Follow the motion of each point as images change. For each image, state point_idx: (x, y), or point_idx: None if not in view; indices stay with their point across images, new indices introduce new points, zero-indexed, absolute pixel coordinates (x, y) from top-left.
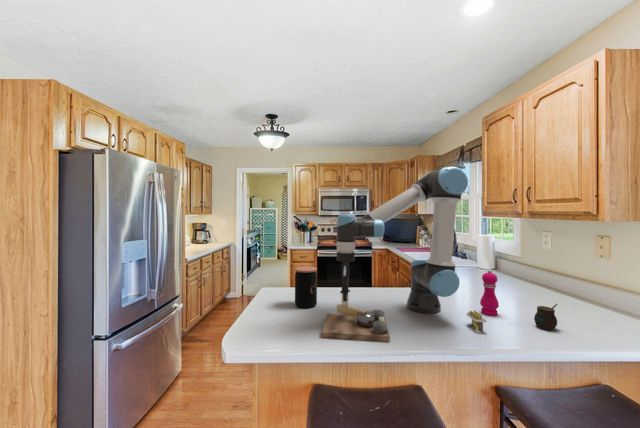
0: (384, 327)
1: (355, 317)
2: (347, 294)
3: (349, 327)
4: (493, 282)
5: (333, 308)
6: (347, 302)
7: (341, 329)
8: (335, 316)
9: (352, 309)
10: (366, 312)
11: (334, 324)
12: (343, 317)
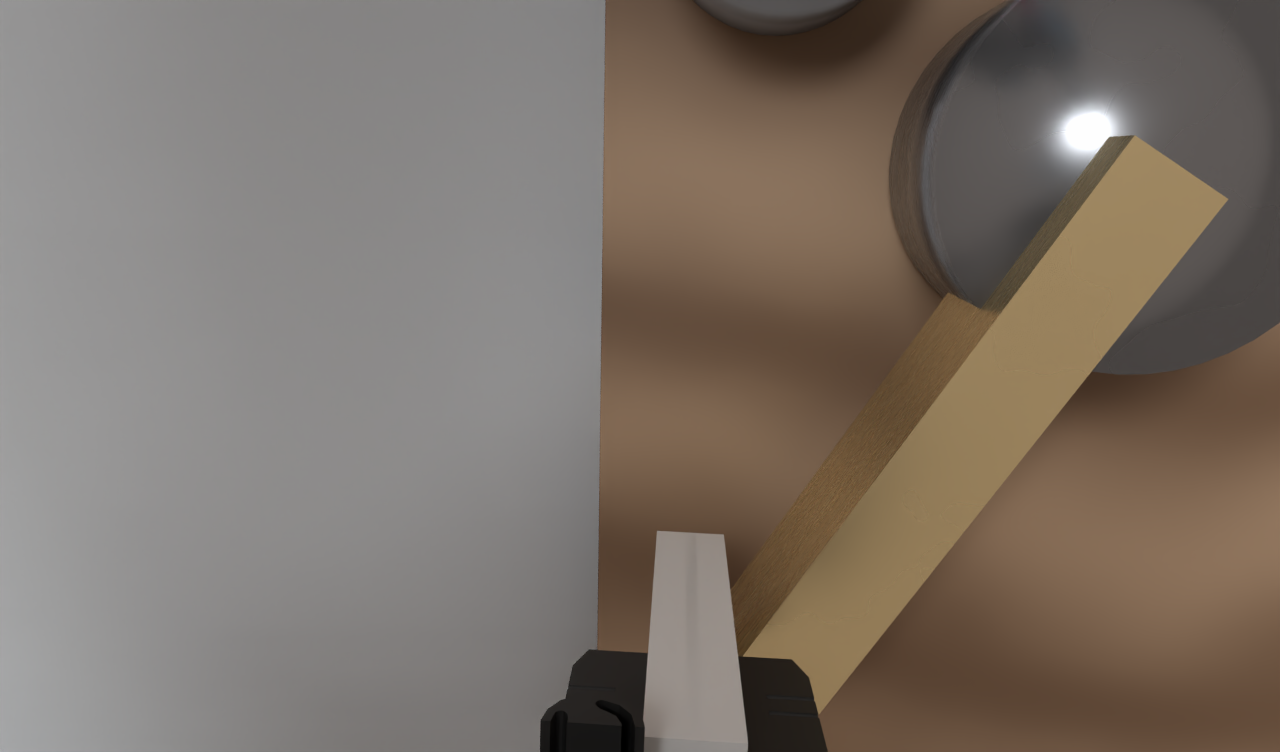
0: None
1: (722, 344)
2: (746, 740)
3: (1194, 458)
4: None
5: (146, 669)
6: (732, 613)
7: (1277, 583)
8: None
9: (998, 477)
10: (1149, 153)
11: (1068, 687)
12: (743, 549)
